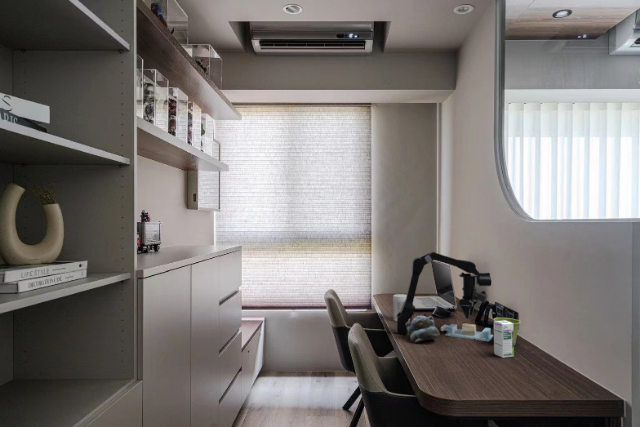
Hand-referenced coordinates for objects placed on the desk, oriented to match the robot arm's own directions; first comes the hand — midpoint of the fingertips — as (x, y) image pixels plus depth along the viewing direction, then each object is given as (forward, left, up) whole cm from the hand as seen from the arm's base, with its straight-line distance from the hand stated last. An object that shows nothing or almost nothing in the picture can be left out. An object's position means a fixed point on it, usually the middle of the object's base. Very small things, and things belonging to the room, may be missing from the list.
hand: (469, 316), depth 214 cm
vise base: (0, 0, -10) cm, 10 cm away
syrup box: (-25, -19, -10) cm, 33 cm away
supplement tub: (+13, +41, -10) cm, 44 cm away
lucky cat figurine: (-21, +18, -10) cm, 29 cm away
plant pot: (-6, -18, -10) cm, 22 cm away
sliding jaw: (0, +10, -9) cm, 14 cm away
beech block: (0, 0, -9) cm, 9 cm away
